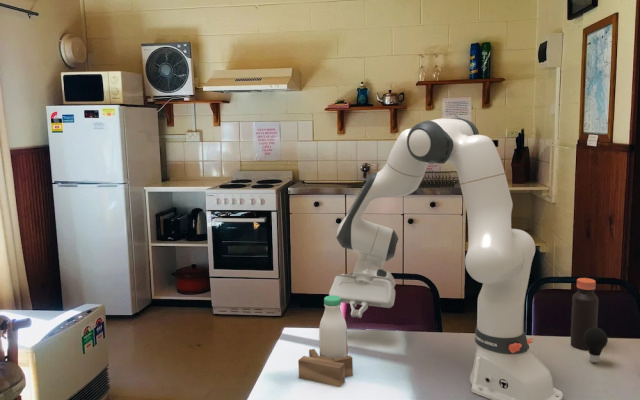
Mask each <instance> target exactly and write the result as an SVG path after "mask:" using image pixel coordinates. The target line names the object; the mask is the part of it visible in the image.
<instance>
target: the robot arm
mask: <svg viewBox="0 0 640 400" xmlns="http://www.w3.org/2000/svg"><path fill="white" fill-rule="evenodd" d="M447 162H448V163H450V164H451V165H453V167H454V168H455V170H456V173H457V177H458V181H459V184H460V185H459V186H460V189H461V194H462V198H463V202H464V205H465V210H466V216H467V229H468V230H467V235H468V237H467V238H468V239H467V240H468V241H467V243H468V244H467V247H468V248H467V252H466V255H465V257H464V258H465V259H464V264H465V269H466V272H467V273H468V274H469V276H470V277H471V279H473V280H475V281H476V282H477V283H481V284H482V285H481V286H482V287H481V289H480V291H479V294H478V295H477V296H478V297H477V311H476V312H477V315H476V316H477V318H476V319H477V320H476V322H477V323H476V326H475V327H474V328H475V331H474V342H475V343H476V345H475V355H474V360H473V366H472V370H471V372H470V376H469V382H470V384H471V390H470V391H471V392H472V393H474V394H476V395H478V396H481V397H484V398H486V399H489V400H563V399H564V395H563V394H564V393H563V392H562V391H561V390H559V389H558V388H556V387H554V384H553V383H554V382H553V376H552V373H551V371H550V369H549V368H548V367H547V366H546V365H545V364H544V363H543V362H542V361H541V360H540V358H539V357H537V355H536V354H535V353H534V351H532V350H531V349H530V345H529V344H532V343H533V339H534V338H533V337H531V338H529V339H527V338H528V337H527V334H526V332H525V330H524V316H525V300H526V293H527V290H528V285H529V281H530V280H529V279H530V274H531V269H532V268H531V267H532V263H533V260H534V256H535V253H536V244H535V243H536V242H535V241H534V239H533V237H532V236H531V235H530V234H529V233H528V232H526V231H525V230H522V229H518V228H512V211H513V205H514V203H513V200H512V195H511V191H510V188H509V183H508V180H507V176H506V172H505V170H504V169H505V168H504V166H503V162H502V160H501V157H500V154H499V152H498V149H497V147H496V145H495V143H494V141H493V140H492V139H491V137H489V136H488V135H485V134H484V135H483V134H480V133H479V130H478V127H477V125H475V123H473V122H472V121H470V120H468V119H466V118H459V117H458V118H457V117H456V118H443V117H442V118H436V119H431V120H424V121H421V122H418V123H416V124H415V125H414V126H412V128H406V129H405V130H402V131H401V133H400V134H399V135H398V137H397V139H396V140H395V142H394V144H393V146H392V148H391V150H390V153H389V155H388V158H387V160H386V164H385V165H384V166H383V167H382V168H381V169H380V170H379V171H377V172H373V173H371V174H370V175H369V176H368V177H367V179H366V180H365V182H364V184H363V186H362V188H361V189H360V190H359V192H358V194H357V196H356V198H355V199H354V201H353V203H352V205H351V207H350V208H349V210H348V211H347V214H346V215H345V216H344V218H343V219H342V220H341V222H340V224H339V225H338V227H337V229H336V230H337V231H336V238H335V239H337V241H338V243H339V245H340V246H341V247H342V248H343V249H348V250H354V251H357V252H358V258H357V260H356V262H355V265H354V269H353V272H352V273H351V274H350V273H340V274H338V275H336V276H335V277H334V279H333V283H332V286H331V287H330V289H329V292H328V296H331V295H335V296H339V297H340V298H341V304H342V303H344V304H350V305H349V306H350V309H351V311H350V316H351V317H352V318H360V319H361V318H362V316H363V314H364V312H365V311H367V310H368V308H369V306H370V307H378V308H387V309H391V308H393V306H394V304H395V299H396V290H395V287H396V281H395V278H394V276H393V275H392V273H391V272H390V271H388V270H385V269H384V264H385V263H386V262H388V261H389V260H391V259H393V258H394V257H395V254H396V250H397V244H398V242H399V236H398V235H397V232H396V231H395V229H392V228H390V227H387V226H385V225H383V224H382V225H381V224H378V223H375V222H372V221H368V220H365V219H363V218H362V216H363V215H364V213H365V211H366V209H367V208H368V206H369V204H370V203H371V202H372V201H373V200H376V199H380V198H398V197H399V198H400V197H401V198H402V197H405V196H408V195H410V194H412V193H414V192H415V191H417V190H418V188H419V186H420V185H421V183H422V181H423V179H424V176H425V173H426V171H427V169H428V165H429V164H440V165H443V164H445V163H447ZM357 305H359V306H361V307H360V308H359V309H356V308H357Z"/></svg>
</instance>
